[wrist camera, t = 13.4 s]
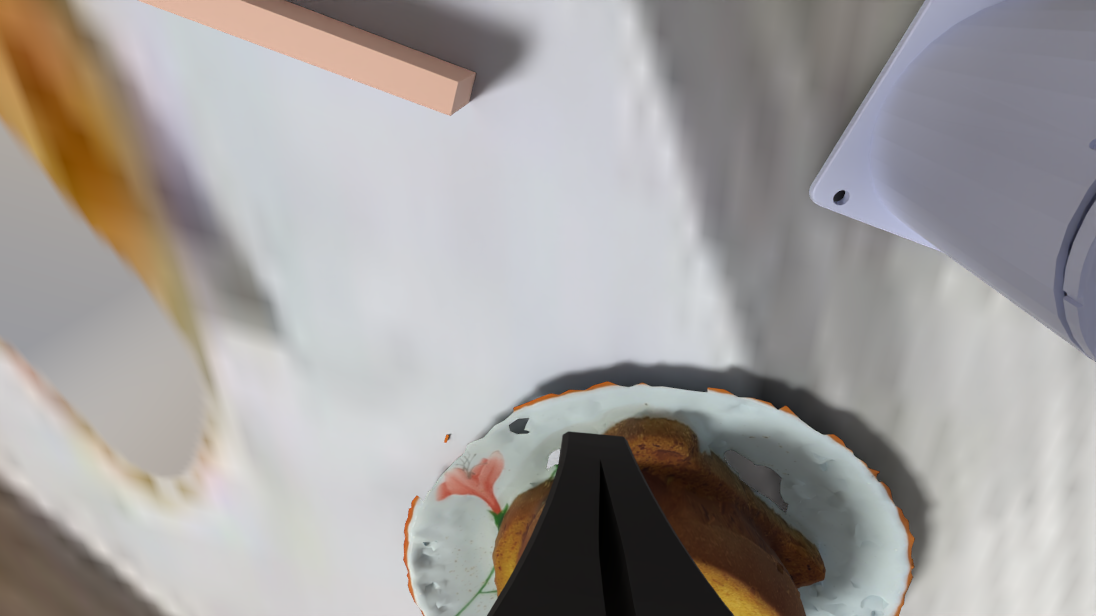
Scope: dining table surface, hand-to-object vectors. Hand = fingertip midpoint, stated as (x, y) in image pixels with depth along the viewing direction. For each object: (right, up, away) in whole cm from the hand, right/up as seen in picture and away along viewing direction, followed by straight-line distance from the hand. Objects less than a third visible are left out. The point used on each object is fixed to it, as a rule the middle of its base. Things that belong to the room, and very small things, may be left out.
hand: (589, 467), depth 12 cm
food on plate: (+4, -10, +18) cm, 21 cm away
